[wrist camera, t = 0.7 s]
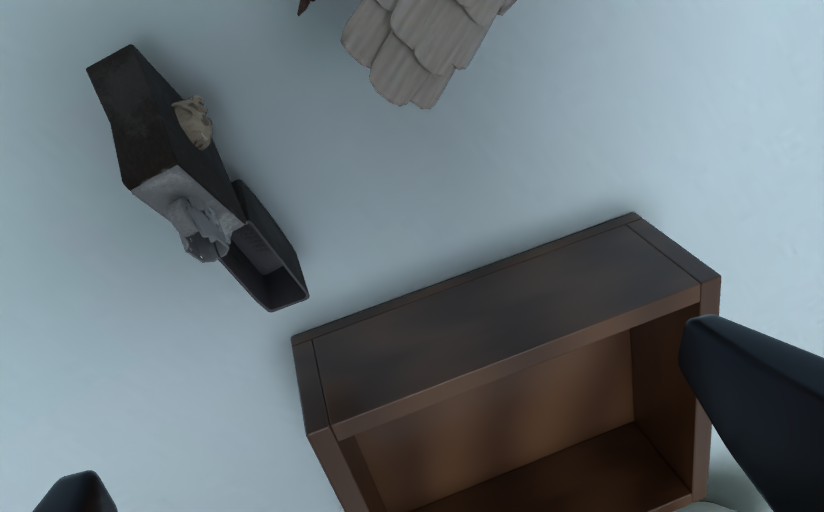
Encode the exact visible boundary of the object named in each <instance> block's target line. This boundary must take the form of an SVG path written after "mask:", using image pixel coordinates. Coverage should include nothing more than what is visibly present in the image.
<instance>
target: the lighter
mask: <svg viewBox="0 0 824 512" xmlns="http://www.w3.org/2000/svg"><path fill="white" fill-rule="evenodd" d="M86 71H87V73H88V75H89V78H90V80H91V82H92V84H93V86H94V89H95V91H96V93H97V95H98V97H99V100H100V102H101V104H102V106H103V108H104V111H105V113H106V115H107V117H108V119H109V122H110V124H111V129H112V133H113V138H114V143H115V148H116V153H117V158H118V163H119V168H120V172H121V177H122V182H123V184H124V185H125V186H126V187H127V188H128V189H129V190H130V191H131V192H132V194H133V195H135V196H136V197H137V198H139V199H140V200H141V201H143V202H144V203H146V204H147V205H148V206H150V207H151V208H153V209H154V210H155V211H157V212H158V213H160V214H161V215H162V216H164V217H165V218H166V219H168V220H169V221H171V223H172V224H173V226H174V227H175V228H176V230H177V231H178V232H179V235H180V238H181V240H182V243H183V246H184V249H185V251H186V252H187V253H189V254H190V255H192V256H193V257H195V258H196V259H198V260H199V261H201V262H202V263H204V262H214V261H216V260H219V261H220V262H221V263H222V264H223V265H224V266H225V268H226V269H227V270H228V271H229V272H230V273H231V274H232V275H233V276H234V277H235V279H236V280H237V281H238V282H239V283H240V284H241V285H242V286H243V287H244V289H245V290H246V291H247V292H248V293H249V294H250V295H251V296H252V297H253V298H254V300H255V301H256V302H257V303H259V304H260V305H261V306H262V307H263V308H265V309H266V310H267V311H268V312H274V311H277V310H280V309H282V308H285V307H288V306H291V305H293V304H296V303H299V302H301V301H304V300H307V299H308V298H309V293H308V289H307V286H306V283H305V280H304V277H303V274H302V270H301V267H300V264H299V261H298V258H297V254H296V252H295V251H294V249H293V248H292V246H291V244H290V243H289V241H288V240H287V238H286V237H285V235H284V234H283V232H282V231H281V230H280V228H279V227H278V225H277V224H276V223H275V221H274V220H273V219H272V217H271V216H270V214H269V213H268V212H267V210H266V209H265V208H264V207H263V205H262V204H261V203H260V202H259V200H258V199H257V198H256V196H255V195H254V194H253V193H252V192H251V191H250V190H249V189H248V187H247V186H246V185H245V184H244V183H243V182H242V181H241V180H235V181H233V182H230V180H229V177H228V175H227V173H226V170H225V168H224V166H223V163H222V161H221V158H220V156H219V154H218V151H217V149H216V147H215V144H214V142H213V139H212V133H213V130H212V121H211V120H210V119H209V118H206V113H207V110H208V109H207V108H205V107H204V101H203V99H202V98H201V97H200V96H192V97H190V98H189V99H188V100H183V99H182V98H181V97H180V95H179V94H178V93H177V92H176V91H175V90H174V89H173V88H172V87H171V86H170V85H169V84H168V82H167V81H166V80H165V79H164V78H163V77H162V76H161V75H160V74H159V73H158V72H157V70H156V69H155V68H154V67H153V66H152V65H151V64H150V63H149V62H148V61H147V60H146V59H145V57H144V56H143V55H142V54H141V53H140V52H139V51H138V50H137V49H136V48H135V47H134V45H131V44H130V45H128V46H126V47H124V48H122V49H120V50H119V51H117V52H115V53H113V54H111V55H110V56H108V57H106V58H104V59H102V60H100V61H99V62H97V63H95V64H93V65H91V66H90V67H88V68H86ZM190 239H191V240H192V241H191V240H190ZM191 251H192V252H191ZM200 256H202V257H203V258H201V257H200Z"/></svg>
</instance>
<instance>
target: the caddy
mask: <svg viewBox="0 0 824 512" xmlns="http://www.w3.org/2000/svg"><path fill="white" fill-rule="evenodd" d="M720 289H721V276H720V275H719V274H718V273H717V272H715V271H714V270H713V269H711V268H710V267H709V266H707V265H706V264H704V263H703V262H702V261H700V260H699V259H698V258H696V257H695V256H694V255H692V254H691V253H689V252H688V251H687V250H685V249H684V248H683V247H681V246H680V245H679V244H677V243H676V242H674V241H673V240H672V239H670V238H669V237H668V236H666V235H665V234H664V233H662V232H661V231H659V230H658V229H657V228H655V227H654V226H653V225H651V224H650V223H649V222H647V221H646V220H644V219H642V217H640V216H639V215H638V214H636V213H635V212H634V213H631V214H628V215H625V216H622V217H620V218H617V219H614V220H611V221H609V222H606V223H603V224H600V225H598V226H595V227H592V228H590V229H587V230H584V231H581V232H579V233H576V234H573V235H570V236H568V237H565V238H562V239H559V240H557V241H554V242H551V243H548V244H546V245H543V246H540V247H537V248H535V249H532V250H529V251H526V252H524V253H521V254H518V255H516V256H513V257H510V258H507V259H505V260H502V261H499V262H496V263H494V264H491V265H488V266H485V267H483V268H480V269H477V270H474V271H472V272H469V273H466V274H463V275H461V276H458V277H455V278H452V279H450V280H447V281H444V282H442V283H439V284H436V285H433V286H431V287H428V288H425V289H422V290H420V291H417V292H414V293H411V294H409V295H406V296H403V297H400V298H398V299H395V300H392V301H389V302H387V303H384V304H381V305H379V306H376V307H373V308H370V309H368V310H365V311H362V312H359V313H357V314H354V315H351V316H348V317H346V318H343V319H340V320H337V321H335V322H332V323H329V324H326V325H324V326H321V327H318V328H315V329H313V330H310V331H307V332H305V333H302V334H299V335H296V336H294V337H291V344H292V350H293V356H294V363H295V369H296V375H297V382H298V388H299V394H300V401H301V407H302V413H303V420H304V426H305V432H306V436H307V438H308V440H309V442H310V444H311V446H312V448H313V450H314V452H315V454H316V456H317V458H318V460H319V462H320V464H321V466H322V468H323V470H324V472H325V474H326V476H327V478H328V480H329V482H330V484H331V486H332V488H333V490H334V492H335V494H336V496H337V498H338V499H339V501H340V503H341V505H342V507H343V509H344V511H345V512H673V511H676V510H678V509H680V508H683V507H685V506H687V505H690V504H691V502H692V503H694V502H696V501H699V500H701V499H704V498H706V497H707V491H708V476H709V460H710V445H711V429H712V423H711V421H710V419H709V418H708V416H707V414H706V413H705V411H704V409H703V408H702V406H701V404H700V403H699V401H698V399H697V398H696V396H695V394H694V393H693V391H692V389H691V388H690V386H689V384H688V383H687V381H686V379H685V378H684V376H683V374H682V373H681V371H680V368H679V365H678V359H677V356H678V351H679V347H680V342H681V338H682V333H683V329H684V325H685V323H686V322H687V321H688V320H689V319H691V318H695V317H699V316H703V315H707V314H713V315H717V316H719V305H720Z"/></svg>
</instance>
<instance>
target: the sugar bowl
mask: <svg viewBox="0 0 824 512" xmlns="http://www.w3.org/2000/svg"><path fill="white" fill-rule="evenodd" d="M673 512H738V511H735V510H731V509H728V508H725V507H723V506H720V505H717V504H714V503H710V502H694V503H692V502H691V504H690V505H687V506H685V507H683V508H680V509H678V510H676V511H673Z"/></svg>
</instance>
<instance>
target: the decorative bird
mask: <svg viewBox="0 0 824 512" xmlns="http://www.w3.org/2000/svg"><path fill="white" fill-rule="evenodd" d="M310 1H315V0H300V5H299V9H298V16H300V15H301V14H302V13H303V12H304V11H305V10H306V9H307V7H308V5H309V4H310ZM516 1H517V0H362V2H361V3H360V4H359V6H358V7H357V9H356V10H355V12H354V13H353V14H352V16H351V17H350V19H349V20H348V22H347V24H346V26H345V28H344V30H343V32H342V36H341V43H342V45H343V46H344V48H345V49H346V51H347V52H348V53H349V54H350V55H351V56H352V57H353V58H354V59H355V60H357V61H358V62H359V63H360V64H361V65H364V66H366V67H368V68H370V69H371V71H370V75H369V77H370V82H371V84H372V85H373V87H374V89H375V90H376V92H377V93H379V94H380V95H381V96H382V97H384V98H385V99H386V100H388V101H389V102H390V103H393V104H395V105H398V106H403V105H406V104H407V103H408V102H410V101H411V102H413V103H414V104H415V105H417V106H418V107H419V108H421V109H431V108H432V107H433V106H434V104H435V103H436V102H437V100H438V99H439V97H440V95H441V94H442V92H443V90H444V89H445V87H446V85H447V83H448V81H449V80H450V78H451V76H452V74H453V72H454V71H455V69H456V68H457V69H458V70H461V69H466V67H467V66H468V64H469V63H470V61H471V60H472V58H473V56H474V54H475V53H476V51H477V49H478V47H479V46H480V44H481V42H482V40H483V39H484V37H485V35H486V33H487V31H488V29H489V27H490V26H491V24H492V22H493V20H494V18H495V16H496V14H498V15H503V14H504V13H505V12H506V11H507V10H508V9H509V8H510V7H511V6H512V5H513V4H514V3H515V2H516Z"/></svg>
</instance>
